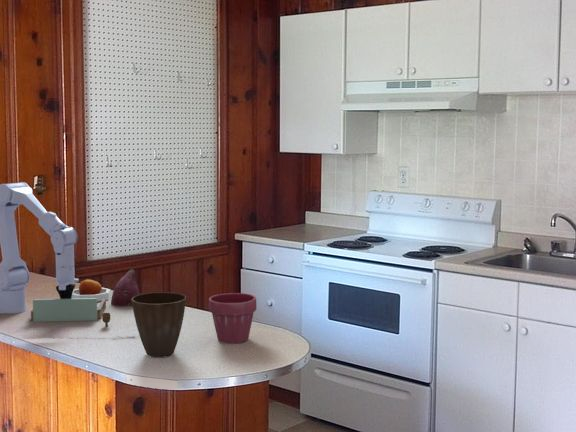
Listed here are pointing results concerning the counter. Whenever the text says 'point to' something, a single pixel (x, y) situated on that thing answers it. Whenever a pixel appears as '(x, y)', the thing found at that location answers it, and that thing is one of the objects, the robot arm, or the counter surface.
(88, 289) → the fruit
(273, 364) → the counter surface
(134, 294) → the vegetable
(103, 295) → the fruit dish
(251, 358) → the counter surface
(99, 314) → the tan lipped tray
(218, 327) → the plant pot
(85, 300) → the panel
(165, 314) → the plant pot
